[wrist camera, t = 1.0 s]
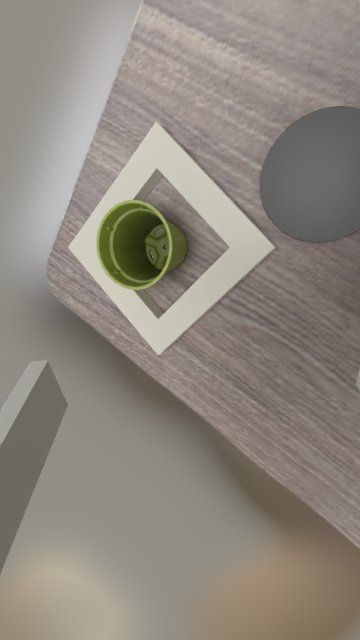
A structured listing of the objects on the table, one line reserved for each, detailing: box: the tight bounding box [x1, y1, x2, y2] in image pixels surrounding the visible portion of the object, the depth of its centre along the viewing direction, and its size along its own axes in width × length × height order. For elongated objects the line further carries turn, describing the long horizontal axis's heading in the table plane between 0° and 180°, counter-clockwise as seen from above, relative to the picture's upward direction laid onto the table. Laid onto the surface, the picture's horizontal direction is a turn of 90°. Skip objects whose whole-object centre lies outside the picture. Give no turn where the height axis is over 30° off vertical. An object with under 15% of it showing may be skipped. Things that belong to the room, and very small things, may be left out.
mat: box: [260, 106, 360, 242], centre depth 33 cm, size 13×13×1 cm
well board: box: [68, 122, 277, 355], centre depth 40 cm, size 20×20×2 cm
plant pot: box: [96, 200, 187, 290], centre depth 37 cm, size 9×9×9 cm
